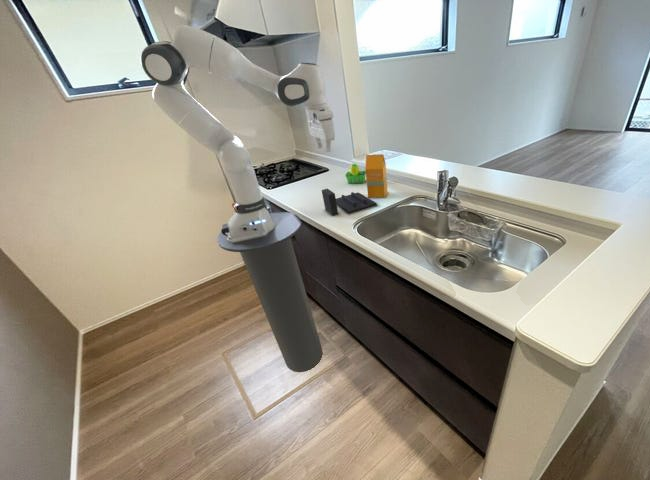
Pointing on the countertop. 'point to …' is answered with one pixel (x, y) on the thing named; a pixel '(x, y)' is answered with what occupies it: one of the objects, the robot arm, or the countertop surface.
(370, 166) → the orange juice
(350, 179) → the fruit basket
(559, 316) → the countertop surface
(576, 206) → the countertop surface
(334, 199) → the upright pad
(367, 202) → the base pad
